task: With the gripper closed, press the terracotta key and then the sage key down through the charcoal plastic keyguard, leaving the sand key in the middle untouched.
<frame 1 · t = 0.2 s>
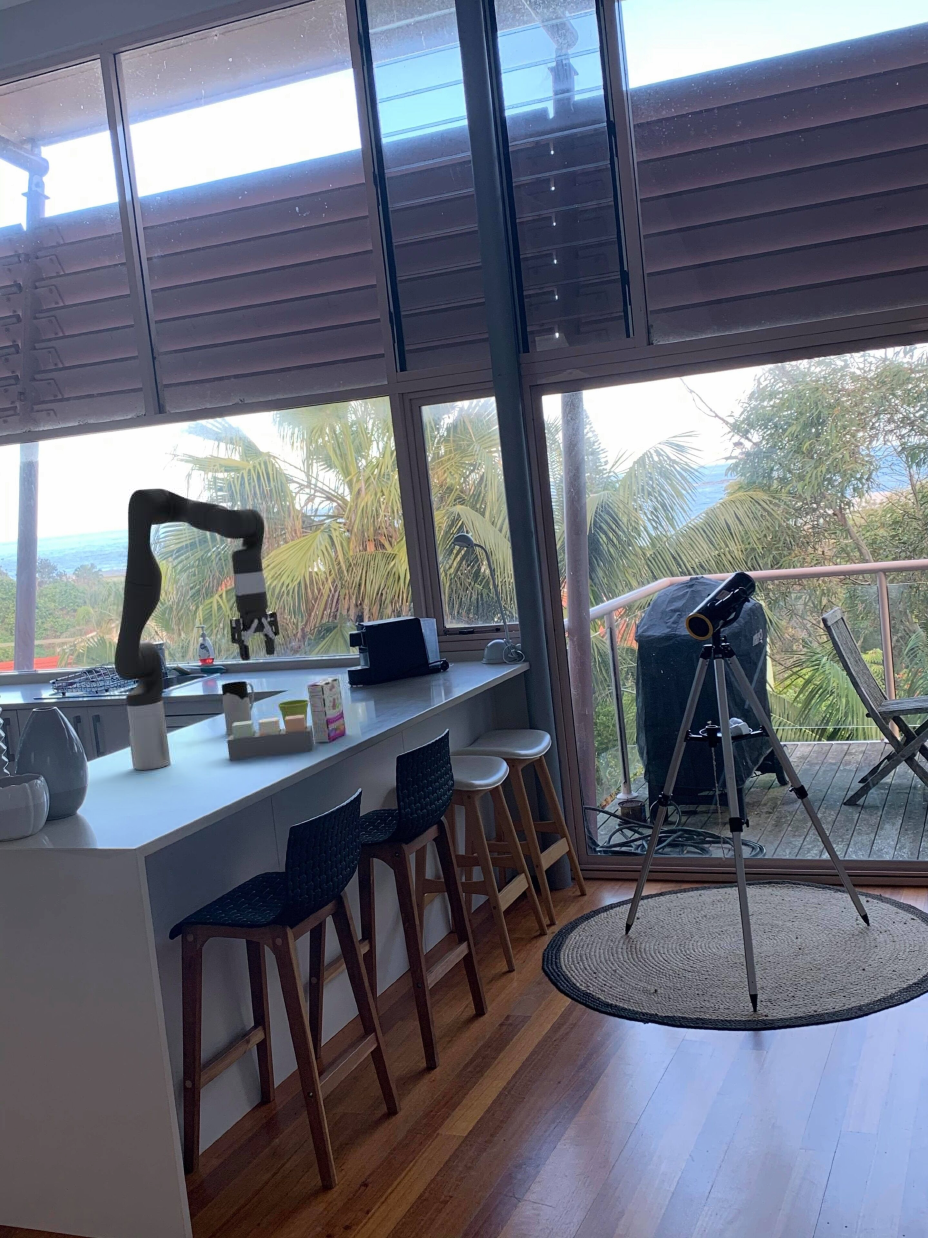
hand: (258, 657, 278), 29 cm above the countertop, fingers open, 8 cm apart
pitcher: (244, 730, 349), on the countertop
key sage: (243, 732, 307), point 6 cm above the countertop, slide at 0.0 cm
keyguard board: (272, 752, 308), on the countertop
key terracotta: (295, 726, 308), point 6 cm above the countertop, slide at 0.0 cm
key sand: (269, 729, 307), point 6 cm above the countertop, slide at 0.0 cm
candy bar box: (330, 739, 320), on the countertop
plant pot: (296, 731, 338), on the countertop
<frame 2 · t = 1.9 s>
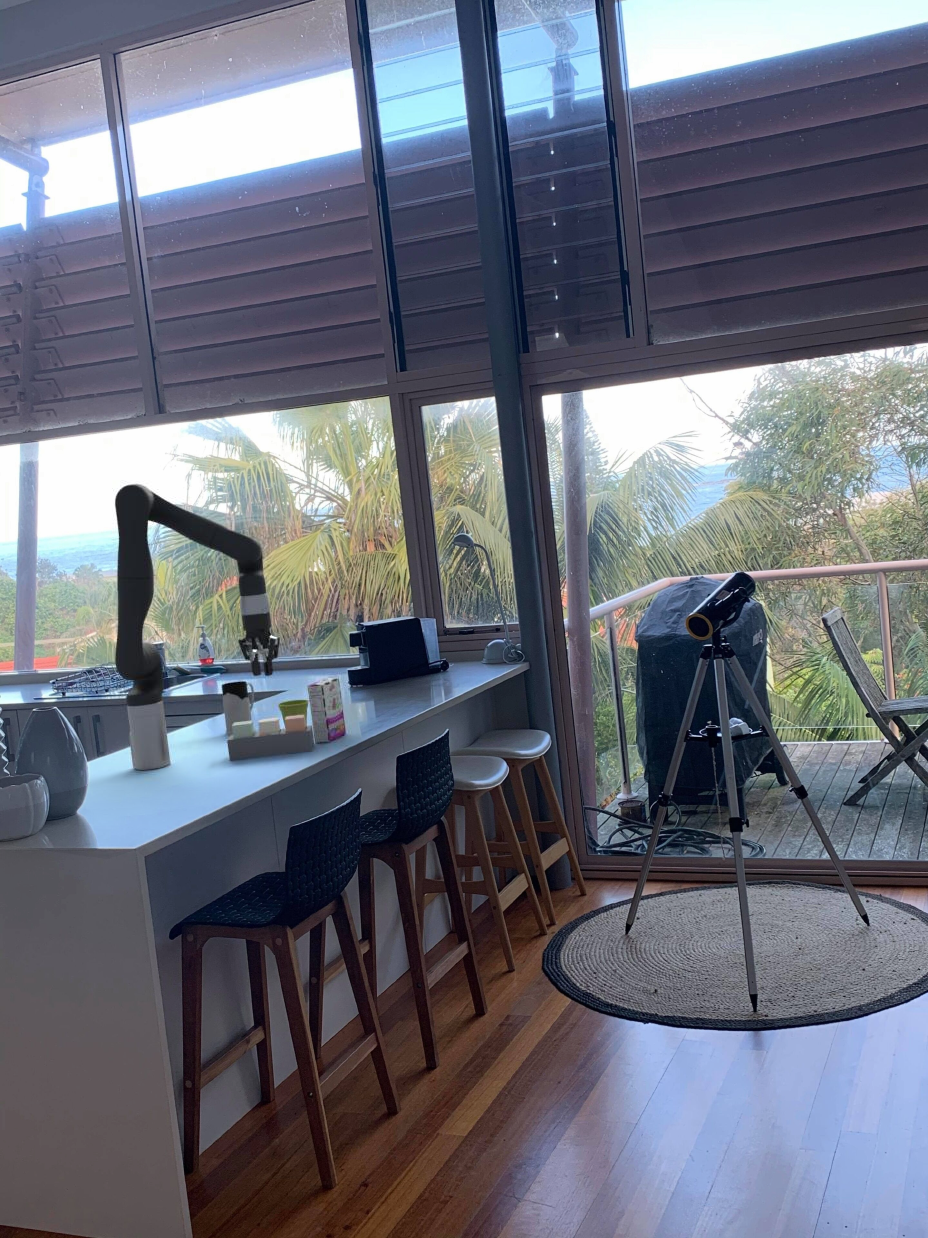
hand: (263, 675, 306), 21 cm above the countertop, fingers open, 3 cm apart
nothing on the countertop moved.
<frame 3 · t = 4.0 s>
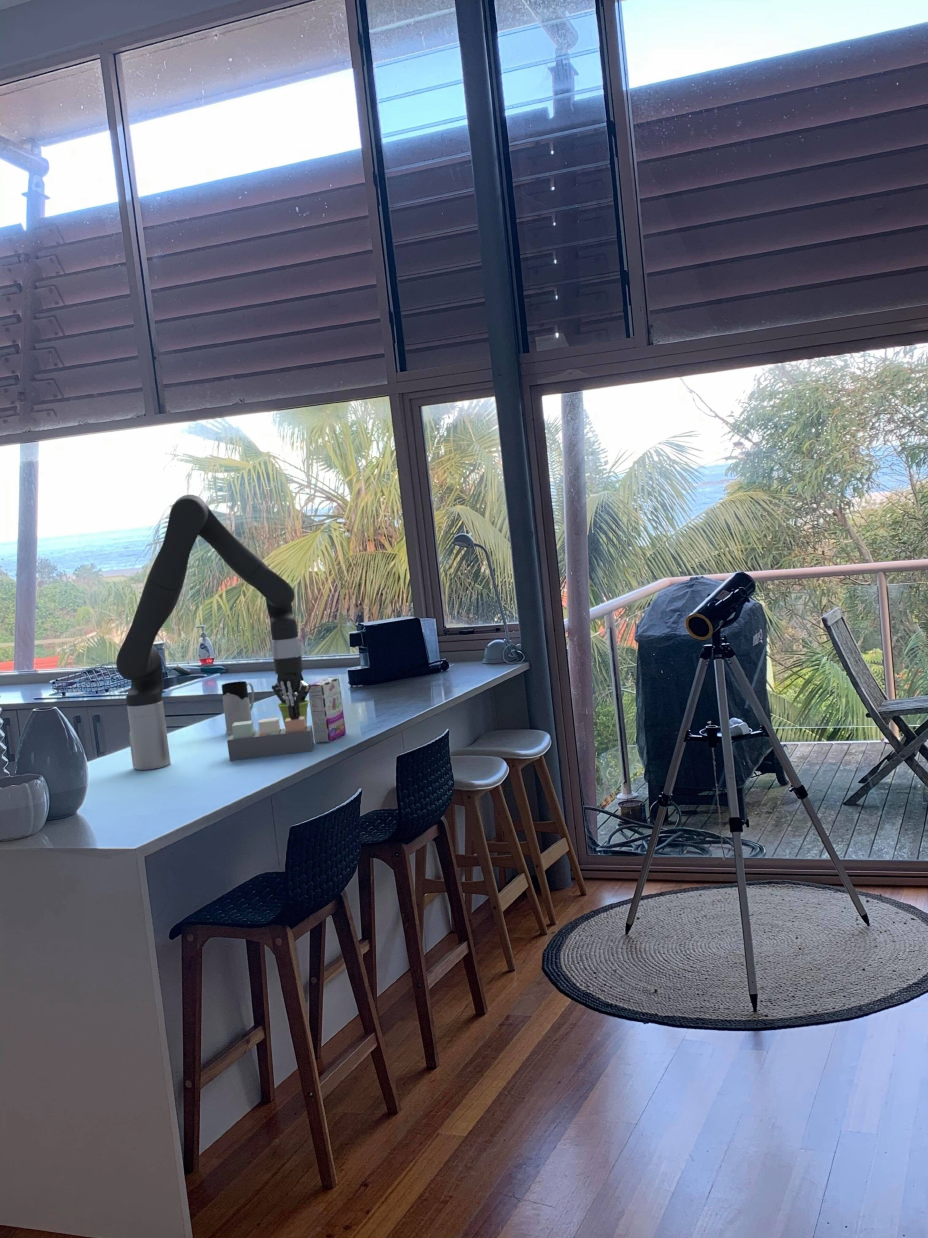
hand: (295, 718, 307), 8 cm above the countertop, fingers closed
key terracotta: (295, 728, 308), point 6 cm above the countertop, slide at 0.5 cm, touching gripper
everything else where it was.
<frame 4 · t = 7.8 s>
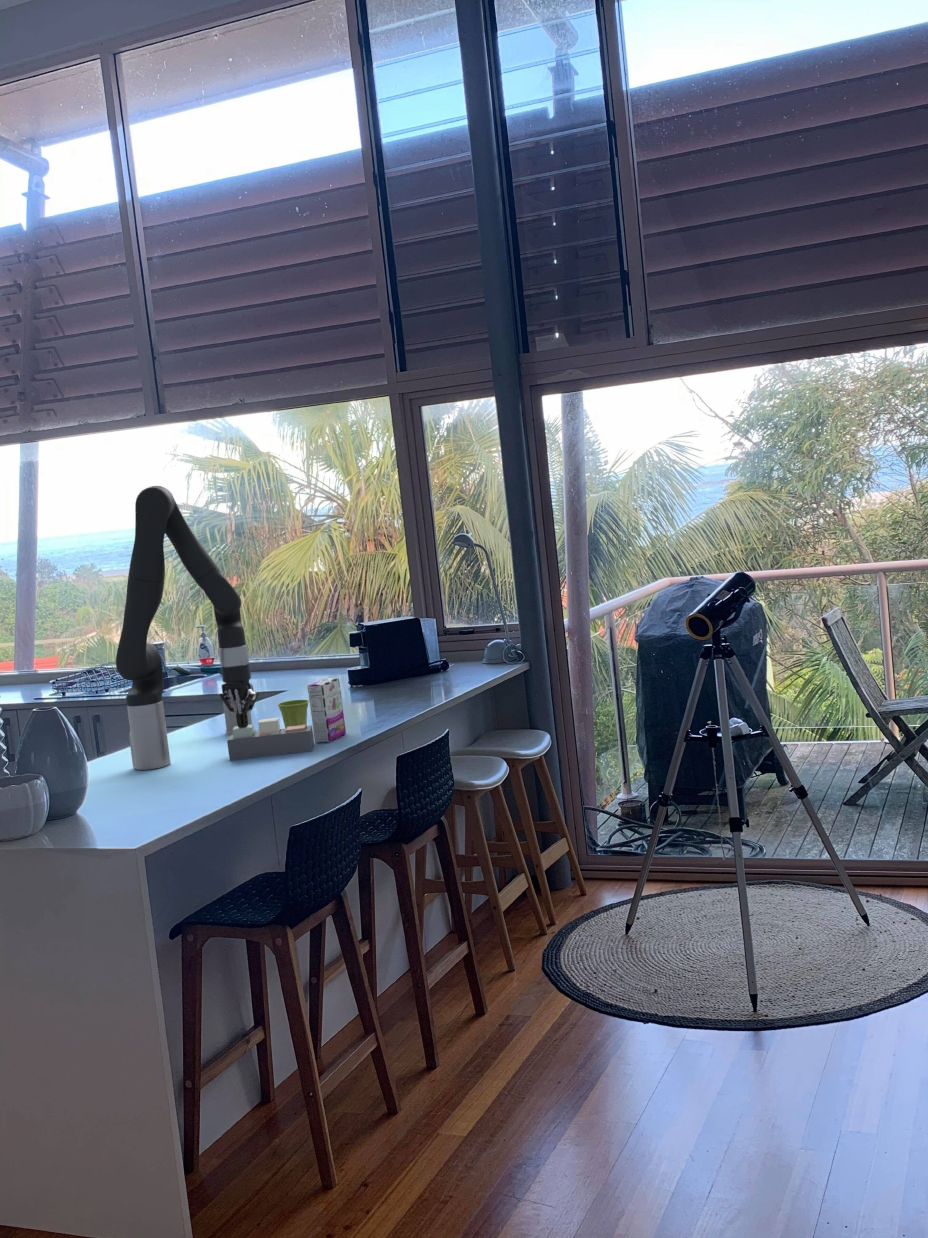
hand: (243, 727, 306), 8 cm above the countertop, fingers closed
key sage: (244, 736, 307), point 5 cm above the countertop, slide at 1.1 cm, touching gripper
key terracotta: (296, 736, 308), point 4 cm above the countertop, slide at 2.8 cm
everything else where it was.
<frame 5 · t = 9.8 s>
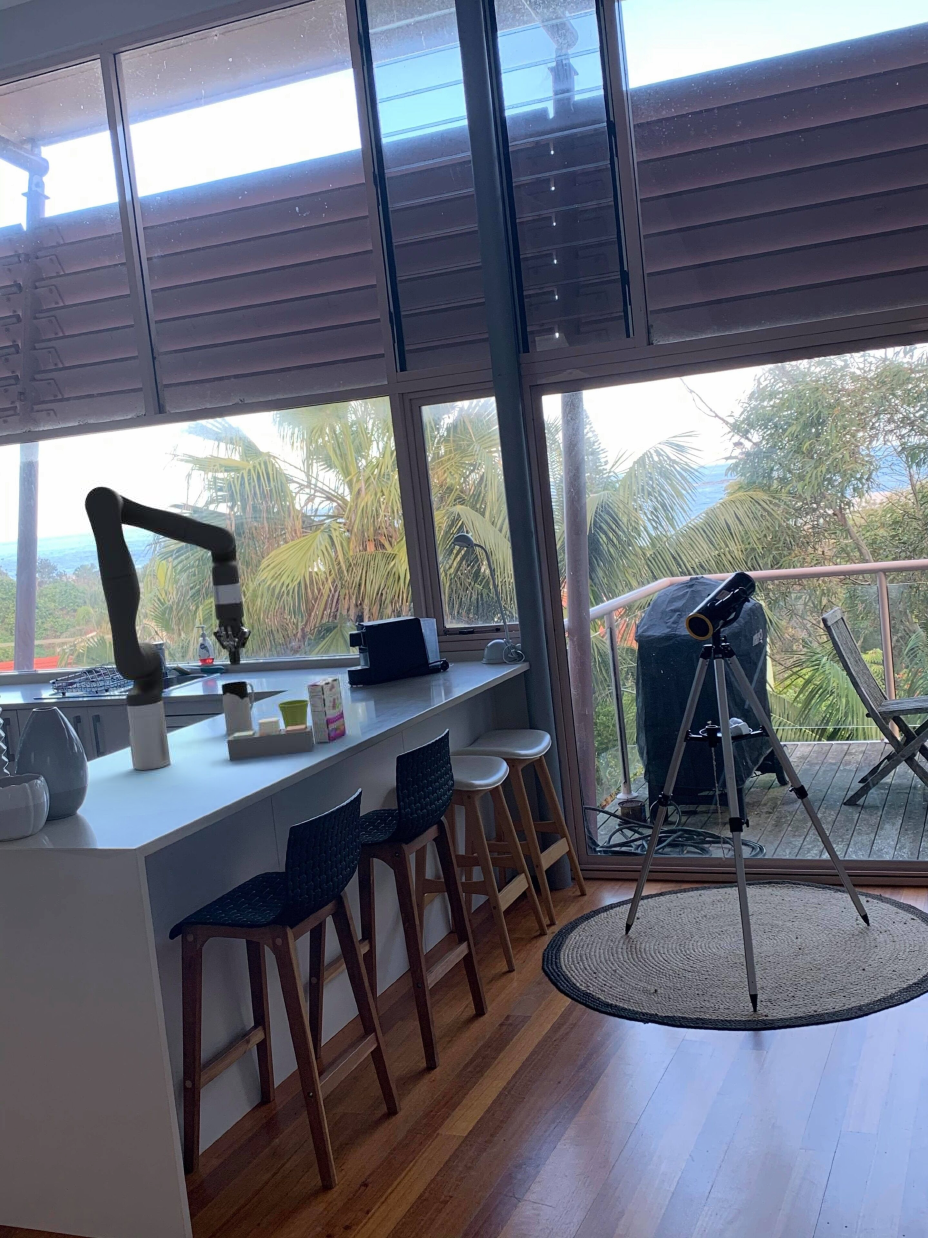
hand: (235, 664, 309), 24 cm above the countertop, fingers closed
key sage: (244, 742, 307), point 4 cm above the countertop, slide at 2.9 cm
everything else where it was.
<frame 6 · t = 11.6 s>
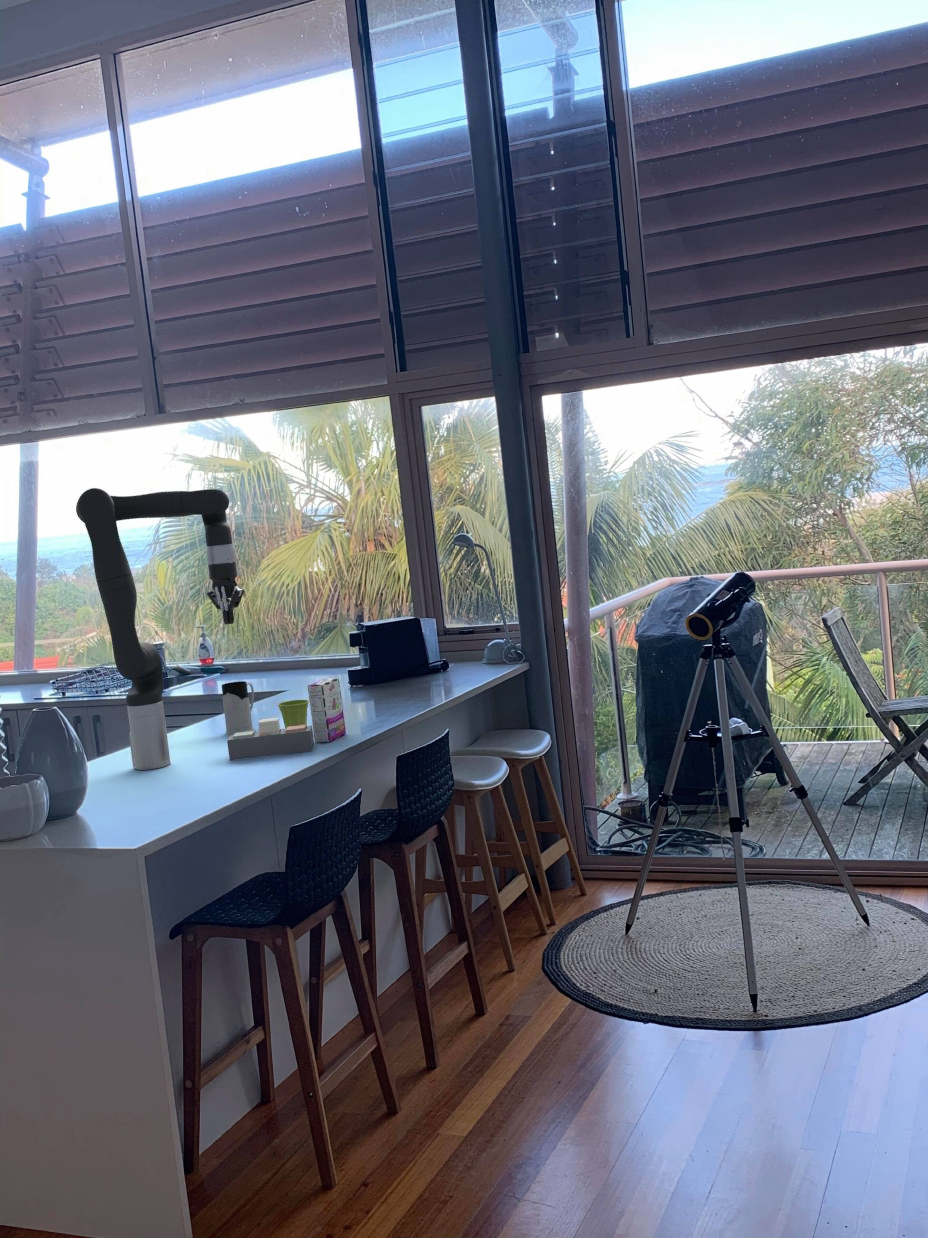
hand: (229, 623, 317), 35 cm above the countertop, fingers closed
nothing on the countertop moved.
at the end: key terracotta slide at 2.8 cm; key sage slide at 2.9 cm; key sand slide at 0.0 cm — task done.
